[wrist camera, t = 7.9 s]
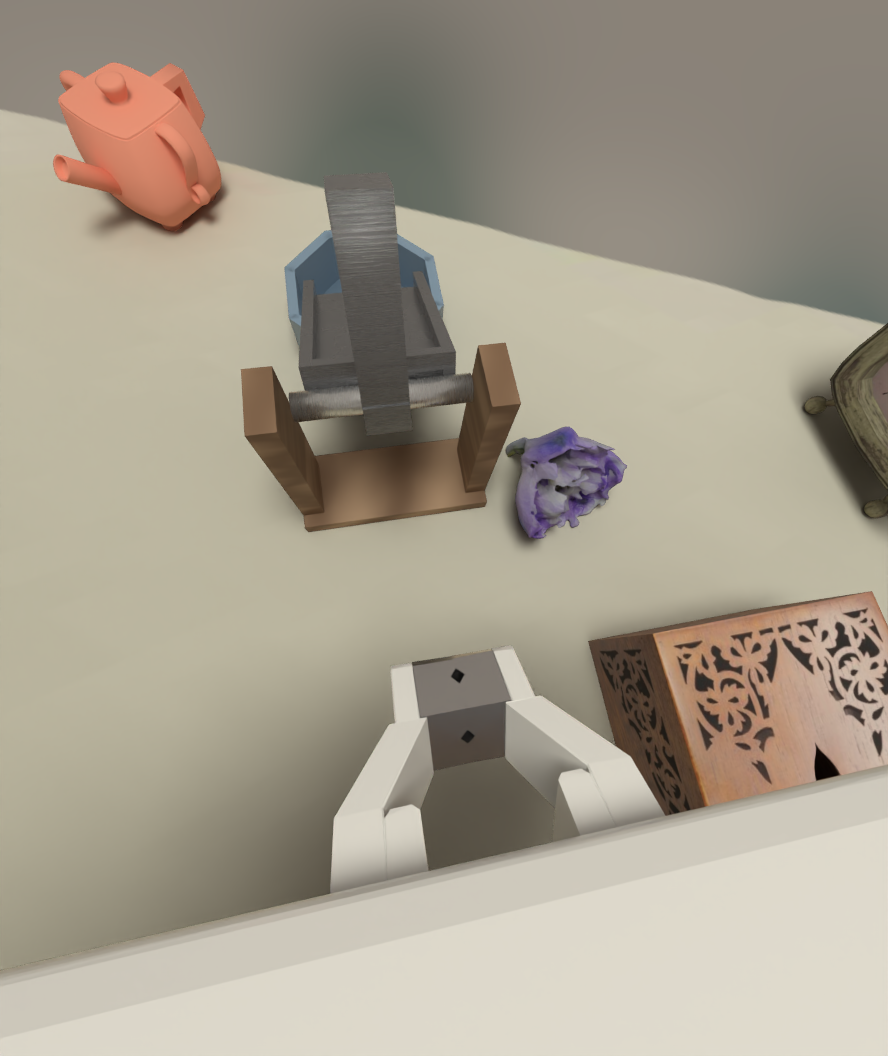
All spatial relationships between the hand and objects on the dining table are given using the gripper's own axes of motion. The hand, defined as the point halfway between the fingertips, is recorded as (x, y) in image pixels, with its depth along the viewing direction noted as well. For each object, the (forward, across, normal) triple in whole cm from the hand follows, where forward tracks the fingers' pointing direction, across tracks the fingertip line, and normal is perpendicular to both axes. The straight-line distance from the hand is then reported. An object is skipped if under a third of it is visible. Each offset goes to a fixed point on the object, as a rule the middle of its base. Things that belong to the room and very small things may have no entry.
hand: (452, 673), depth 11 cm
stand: (+27, 0, -6) cm, 28 cm away
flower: (+25, +12, -8) cm, 29 cm away
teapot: (+51, -19, +18) cm, 57 cm away
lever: (+23, 0, +4) cm, 23 cm away
